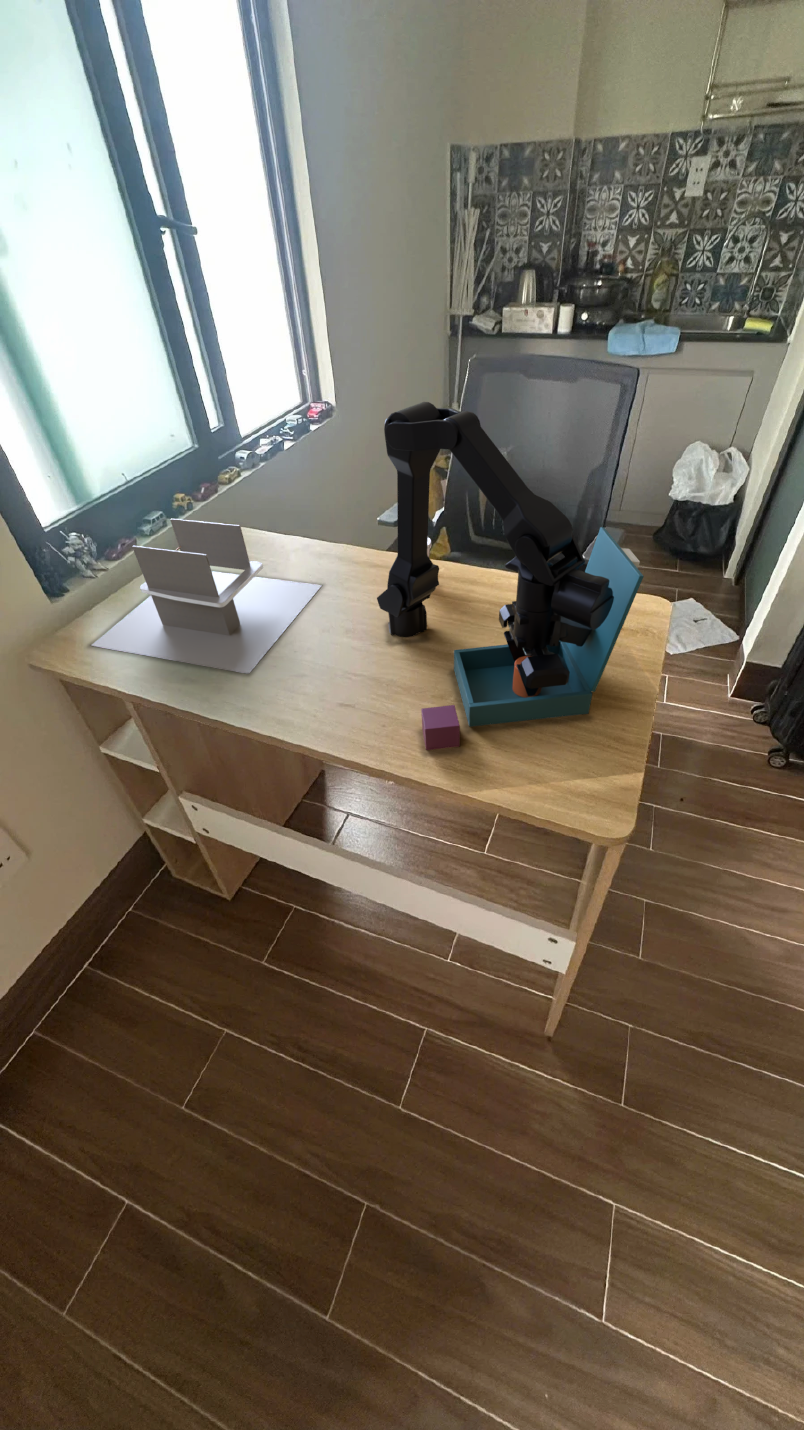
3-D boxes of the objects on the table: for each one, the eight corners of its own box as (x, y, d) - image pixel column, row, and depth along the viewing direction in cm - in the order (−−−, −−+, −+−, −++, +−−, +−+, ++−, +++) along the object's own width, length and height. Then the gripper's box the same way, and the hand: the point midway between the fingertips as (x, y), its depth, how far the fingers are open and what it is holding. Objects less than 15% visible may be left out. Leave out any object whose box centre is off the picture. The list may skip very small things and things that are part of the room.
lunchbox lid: (639, 575, 76) (658, 577, 76) (600, 526, 87) (617, 528, 87) (591, 691, 89) (607, 692, 89) (562, 636, 99) (576, 637, 100)
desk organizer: (248, 673, 105) (224, 589, 94) (90, 645, 115) (50, 566, 104) (322, 585, 127) (309, 508, 116) (183, 567, 137) (159, 495, 125)
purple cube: (426, 753, 88) (425, 729, 85) (422, 732, 92) (421, 708, 88) (459, 750, 89) (459, 725, 85) (454, 728, 92) (454, 704, 89)
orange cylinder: (516, 699, 95) (518, 674, 92) (509, 681, 98) (511, 657, 95) (544, 696, 95) (547, 671, 92) (536, 678, 99) (539, 654, 95)
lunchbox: (469, 730, 92) (469, 707, 88) (453, 672, 102) (453, 649, 99) (587, 717, 92) (592, 693, 89) (560, 661, 103) (563, 638, 100)
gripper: (614, 632, 79) (595, 718, 90) (570, 565, 93) (559, 647, 103) (531, 641, 79) (522, 726, 89) (500, 572, 93) (495, 653, 103)
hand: (527, 685), depth 96 cm, fingers closed on orange cylinder, 4 cm apart
